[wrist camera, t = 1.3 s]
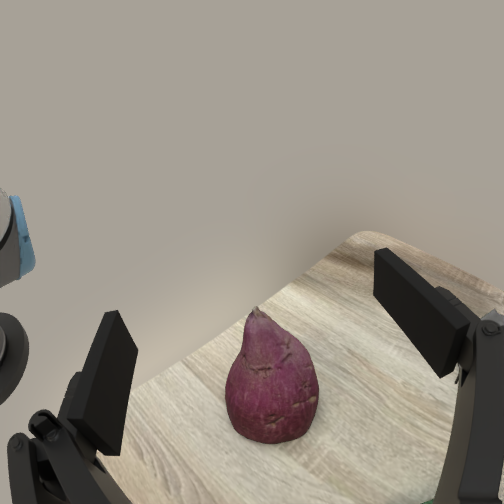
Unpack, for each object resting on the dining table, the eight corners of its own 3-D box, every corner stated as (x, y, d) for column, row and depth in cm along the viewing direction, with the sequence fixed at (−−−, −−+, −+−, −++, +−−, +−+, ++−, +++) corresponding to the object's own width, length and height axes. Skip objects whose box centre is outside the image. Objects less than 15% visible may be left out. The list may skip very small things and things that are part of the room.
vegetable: (217, 407, 33) (164, 316, 27) (284, 363, 37) (255, 265, 31) (264, 467, 24) (211, 384, 18) (341, 409, 28) (330, 305, 22)
